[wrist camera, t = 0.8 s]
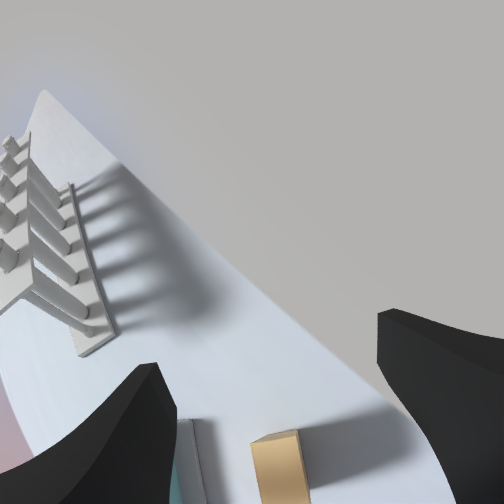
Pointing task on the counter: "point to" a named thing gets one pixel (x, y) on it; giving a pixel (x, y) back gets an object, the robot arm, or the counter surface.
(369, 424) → the counter surface
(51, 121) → the counter surface
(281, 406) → the counter surface
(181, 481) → the stand
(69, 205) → the test tube rack
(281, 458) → the plank
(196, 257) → the counter surface
